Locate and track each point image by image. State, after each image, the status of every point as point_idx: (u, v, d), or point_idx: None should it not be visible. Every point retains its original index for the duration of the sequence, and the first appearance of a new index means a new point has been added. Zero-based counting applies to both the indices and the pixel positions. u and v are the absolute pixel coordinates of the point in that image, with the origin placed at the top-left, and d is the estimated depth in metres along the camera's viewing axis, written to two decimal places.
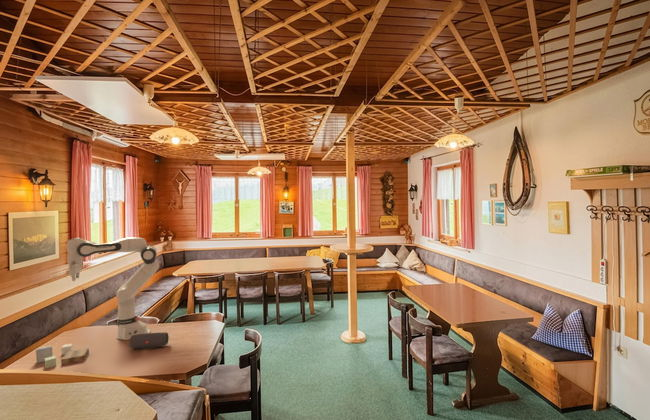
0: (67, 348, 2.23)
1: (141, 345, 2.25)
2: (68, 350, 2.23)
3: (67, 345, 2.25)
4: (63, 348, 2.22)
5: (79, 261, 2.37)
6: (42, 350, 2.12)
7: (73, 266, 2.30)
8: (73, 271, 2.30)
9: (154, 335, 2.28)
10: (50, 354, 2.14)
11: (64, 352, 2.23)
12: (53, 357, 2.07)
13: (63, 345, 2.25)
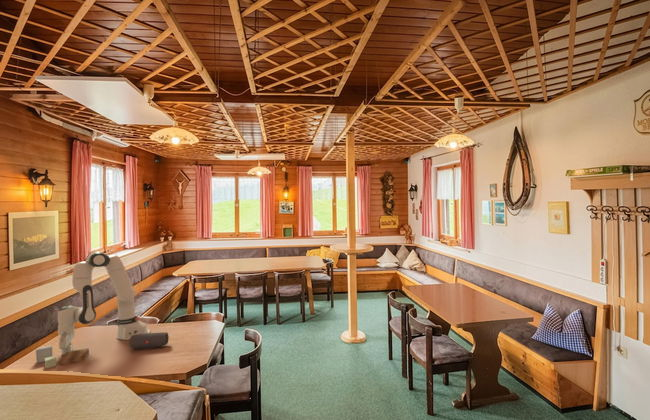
0: (67, 348, 2.23)
1: (141, 345, 2.25)
2: (68, 350, 2.23)
3: None
4: None
5: (71, 331, 2.24)
6: (42, 350, 2.12)
7: (64, 339, 2.17)
8: (64, 344, 2.17)
9: (154, 335, 2.28)
10: (50, 354, 2.14)
11: None
12: (53, 357, 2.07)
13: None
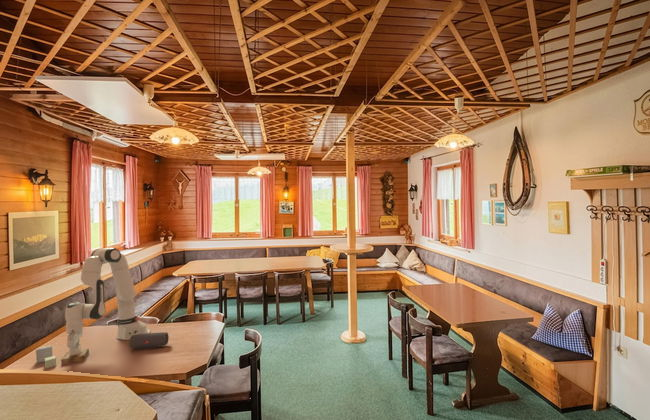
0: (75, 349, 2.13)
1: (141, 345, 2.25)
2: (76, 351, 2.13)
3: (75, 346, 2.15)
4: None
5: (79, 329, 2.13)
6: (42, 350, 2.12)
7: (72, 337, 2.07)
8: (72, 343, 2.06)
9: (154, 335, 2.28)
10: (50, 354, 2.14)
11: (72, 353, 2.12)
12: (53, 357, 2.07)
13: None
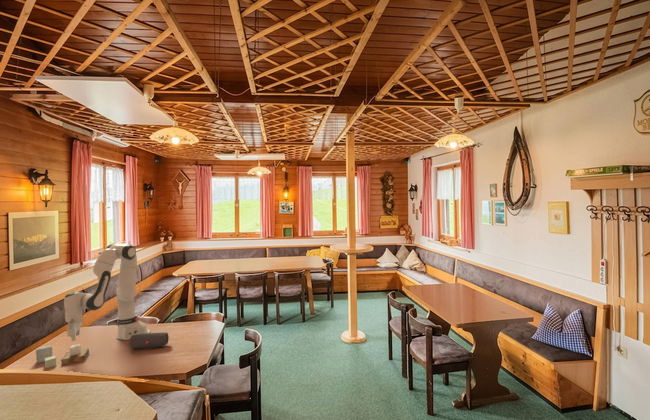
0: (75, 349, 2.13)
1: (141, 345, 2.25)
2: (76, 351, 2.13)
3: (75, 345, 2.15)
4: (71, 349, 2.12)
5: (79, 318, 2.14)
6: (42, 350, 2.12)
7: (72, 326, 2.07)
8: (72, 331, 2.07)
9: (154, 335, 2.28)
10: (50, 354, 2.14)
11: (72, 353, 2.12)
12: (53, 357, 2.07)
13: (71, 345, 2.15)
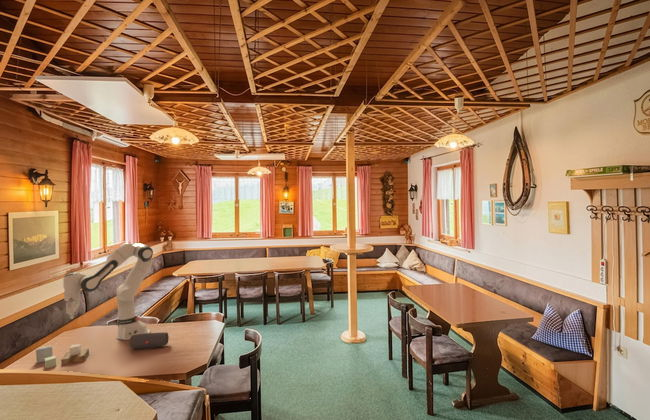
0: (75, 349, 2.13)
1: (141, 345, 2.25)
2: (76, 351, 2.14)
3: (75, 345, 2.15)
4: (71, 349, 2.12)
5: (77, 297, 2.23)
6: (42, 350, 2.12)
7: (71, 304, 2.16)
8: (71, 309, 2.16)
9: (154, 335, 2.28)
10: (50, 354, 2.14)
11: (72, 353, 2.13)
12: (53, 357, 2.07)
13: (71, 345, 2.15)
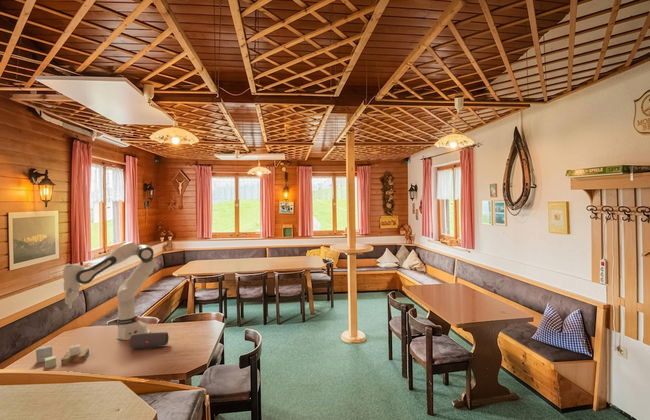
0: (75, 349, 2.13)
1: (141, 345, 2.25)
2: (76, 351, 2.13)
3: (75, 346, 2.15)
4: (71, 349, 2.12)
5: (76, 288, 2.31)
6: (42, 350, 2.12)
7: (70, 294, 2.25)
8: (70, 299, 2.24)
9: (154, 335, 2.28)
10: (50, 354, 2.14)
11: (72, 353, 2.12)
12: (53, 357, 2.07)
13: (71, 346, 2.15)
